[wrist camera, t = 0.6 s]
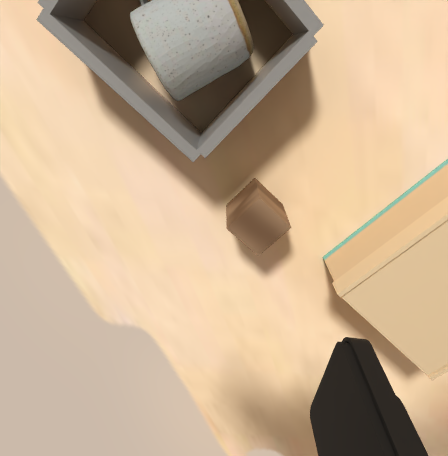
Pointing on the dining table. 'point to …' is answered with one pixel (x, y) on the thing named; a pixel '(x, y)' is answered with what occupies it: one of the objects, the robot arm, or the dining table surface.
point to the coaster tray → (151, 99)
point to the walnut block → (256, 217)
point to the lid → (407, 290)
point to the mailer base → (389, 222)
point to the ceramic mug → (192, 41)
